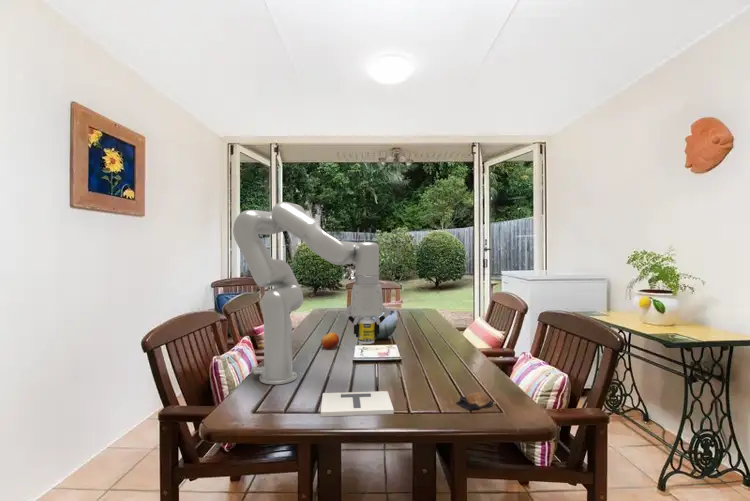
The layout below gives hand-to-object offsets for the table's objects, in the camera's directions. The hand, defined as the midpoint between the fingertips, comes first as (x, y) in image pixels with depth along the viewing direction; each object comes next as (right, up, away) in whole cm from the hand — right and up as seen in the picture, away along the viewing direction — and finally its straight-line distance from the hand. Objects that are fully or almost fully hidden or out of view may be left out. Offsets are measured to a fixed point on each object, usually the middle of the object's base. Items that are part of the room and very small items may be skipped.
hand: (366, 335), depth 130 cm
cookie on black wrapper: (+32, -18, -12) cm, 39 cm away
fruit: (-17, -17, +51) cm, 56 cm away
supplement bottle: (0, -2, 0) cm, 2 cm away
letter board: (-3, -17, -13) cm, 22 cm away
